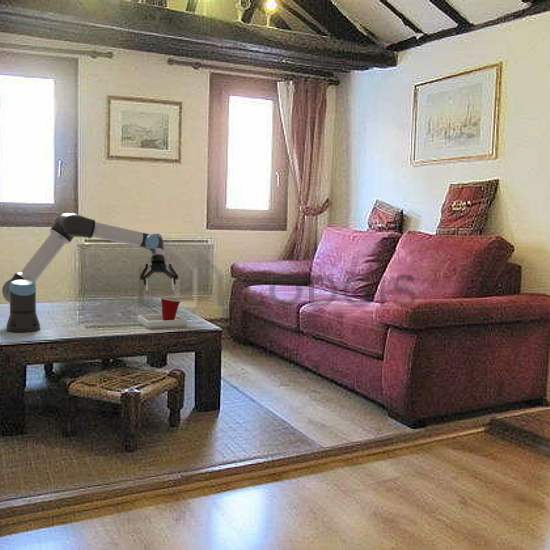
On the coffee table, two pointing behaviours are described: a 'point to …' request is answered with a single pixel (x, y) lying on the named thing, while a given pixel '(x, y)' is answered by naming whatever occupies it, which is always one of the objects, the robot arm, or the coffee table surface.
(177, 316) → the tray
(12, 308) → the robot arm
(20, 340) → the coffee table surface
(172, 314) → the plastic cup
